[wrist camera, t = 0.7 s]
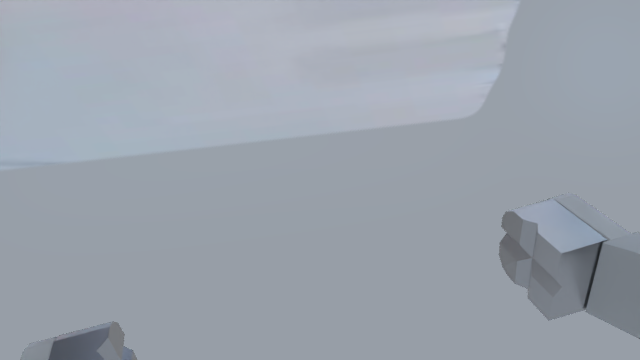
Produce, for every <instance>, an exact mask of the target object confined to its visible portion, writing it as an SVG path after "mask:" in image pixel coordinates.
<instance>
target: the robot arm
mask: <svg viewBox="0 0 640 360" xmlns="http://www.w3.org/2000/svg"><path fill="white" fill-rule="evenodd" d="M501 227H502V228H503V229H504V230H505V231H506V232H507V234H506V235H505V236H504V238H503V239H502V240H501V242H500V247H499V256H500V260H501V263H502V267H503V268H504V270H505V272H506V274H507V275H508V276H509V278H510V279H511V280H512V281H513V282H514V283H515V284H517V285H520V286H522V287H525V288H527V289H528V299H529V300H530V301H531V302H532V303H533V304H534V305H535V306H536V307H537V308H538V309H539V311H540V312H541V313H542V314H543V315H544V316H545V317H546V318H547V319H548V320H552V319H556V318H559V317H563V316H566V315H569V314H573V313H576V312H580V311H583V310H586V312H587V313H589V314H591V315H593V316H595V317H597V318H599V319H601V320H603V321H605V322H607V323H609V324H611V325H613V326H615V327H617V328H619V329H621V330H623V331H625V332H627V333H629V334H631V335H633V336H635V337H637V338H639V339H640V232H635V233H630V232H629V231H627V230H626V229H624V228H623V227H622V226H620V225H619V224H617V223H616V222H615V221H613V220H612V219H610V218H609V217H607V216H606V215H605V214H603V213H602V212H600V211H599V210H597V209H596V208H594V207H593V206H592V205H590V204H589V203H587V202H586V201H585V200H583V199H582V198H580V197H579V196H577V195H576V194H572V193H566V194H562V195H559V196H556V197H552V198H549V199H547V200H543V201H540V202H536V203H533V204H529V205H526V206H523V207H519V208H516V209H512V210H509V211H506V212H505V214H504V215H503V218H502V225H501ZM123 344H124V332H123V331H122V329H121V327H120V325H119V324H118V323H117V322H109V323H106V324H101V325H97V326H93V327H90V328H86V329H82V330H78V331H74V332H71V333H66V334H62V335H59V336H58V337H53V338H49V339H45V340H41V341H37V342H33V343H30V344H29V345H28V346H27V347H26V348H25V349H24V351H23V353H22V356H21V359H20V360H137V358H136V356H135V354H134V352H133V350H132V349H129V348H127V347H125V346H123Z"/></svg>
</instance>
